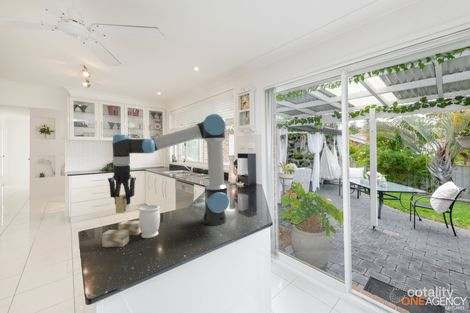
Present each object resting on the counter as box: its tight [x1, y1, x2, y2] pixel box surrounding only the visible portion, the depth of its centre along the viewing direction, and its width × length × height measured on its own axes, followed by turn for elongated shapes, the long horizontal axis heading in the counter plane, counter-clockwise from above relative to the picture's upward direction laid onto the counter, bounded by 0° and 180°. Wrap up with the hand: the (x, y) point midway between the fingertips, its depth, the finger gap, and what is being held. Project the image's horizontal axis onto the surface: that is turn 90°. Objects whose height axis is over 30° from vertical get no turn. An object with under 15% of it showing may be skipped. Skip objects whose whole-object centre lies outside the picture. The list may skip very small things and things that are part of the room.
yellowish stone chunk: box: [114, 194, 127, 214], centre depth 104 cm, size 4×6×8 cm, turn 179°
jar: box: [138, 204, 161, 239], centre depth 108 cm, size 11×10×15 cm
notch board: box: [101, 220, 142, 248], centre depth 104 cm, size 10×18×6 cm, turn 179°
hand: (122, 210), depth 104 cm, fingers closed on yellowish stone chunk, 3 cm apart
